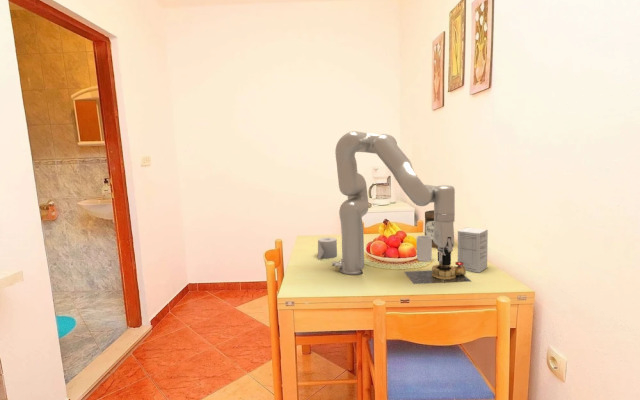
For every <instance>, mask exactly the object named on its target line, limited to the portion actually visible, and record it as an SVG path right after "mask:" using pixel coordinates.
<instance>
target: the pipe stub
mask: <svg viewBox="0 0 640 400" xmlns="http://www.w3.org/2000/svg"><path fill="white" fill-rule="evenodd" d="M445 247H448V246H445ZM437 249H438V250H439V251H438V250H437V251H438V252H439V262H438V265H439V269H440V270H450V266H451V265H442V255H443V248H440V247H438V248H437ZM446 250H447V249H445V251H446Z"/></svg>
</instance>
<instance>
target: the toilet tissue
mask: <svg viewBox="0 0 640 400" xmlns="http://www.w3.org/2000/svg"><path fill="white" fill-rule="evenodd" d="M337 243H338V242H337V238H336V237H330V236H329V237H327V236H326V237H321V238H320V237H319V238H318V239H317V260H320V259H325V260H327V259H328V260H329V259H334V258H337V256H338V244H337Z"/></svg>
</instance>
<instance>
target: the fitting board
mask: <svg viewBox="0 0 640 400" xmlns="http://www.w3.org/2000/svg"><path fill="white" fill-rule="evenodd" d="M455 265H456V266H452V265H450V270H440V269H439V264H435V265H432V266H431V270H413V271H412V270H411V271H404V274H405V275H406V277H408V278H409V280H410V281H411V283H412V284H413V285H422V284H423V285H424V284H443V283H444V284H446V283H468V282H470V283H471V282H472V280H471V279H469V278H468V277H467V276H466V274H467V272H466V271H467V270H466V269H465V267H464V266H460V265H464V263H463V262H458V261H455Z"/></svg>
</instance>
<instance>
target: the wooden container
mask: <svg viewBox="0 0 640 400" xmlns="http://www.w3.org/2000/svg"><path fill="white" fill-rule="evenodd" d="M434 223H435V221H434V209H433V210H426V211H424V236H431V237H432V249H438V246H437V245H436V244H435V243H434V242H433V237H434Z"/></svg>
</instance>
